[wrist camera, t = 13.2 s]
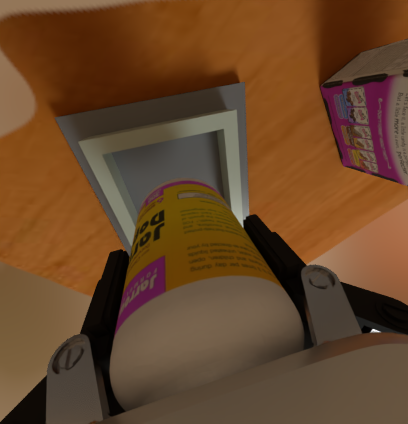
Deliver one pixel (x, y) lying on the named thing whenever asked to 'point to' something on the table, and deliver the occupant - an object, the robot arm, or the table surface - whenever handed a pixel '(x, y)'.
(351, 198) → the table surface
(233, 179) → the tray
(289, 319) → the supplement bottle
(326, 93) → the candy bar box
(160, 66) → the table surface
